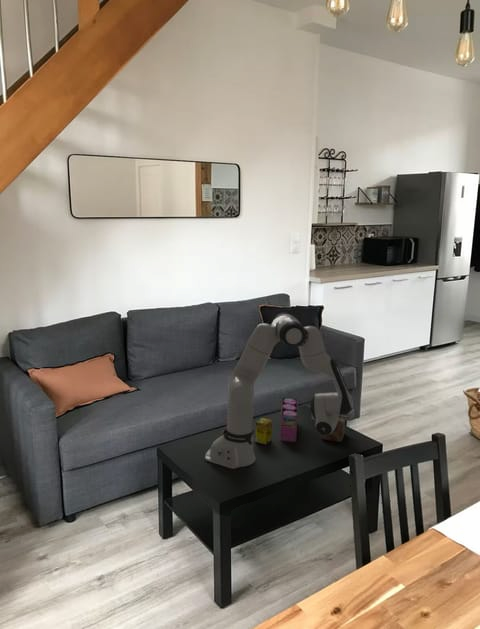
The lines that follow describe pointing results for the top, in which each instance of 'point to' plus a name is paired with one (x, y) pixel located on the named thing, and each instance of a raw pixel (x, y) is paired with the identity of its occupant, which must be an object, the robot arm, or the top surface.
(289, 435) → the gum box
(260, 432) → the supplement box
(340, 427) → the walnut block
